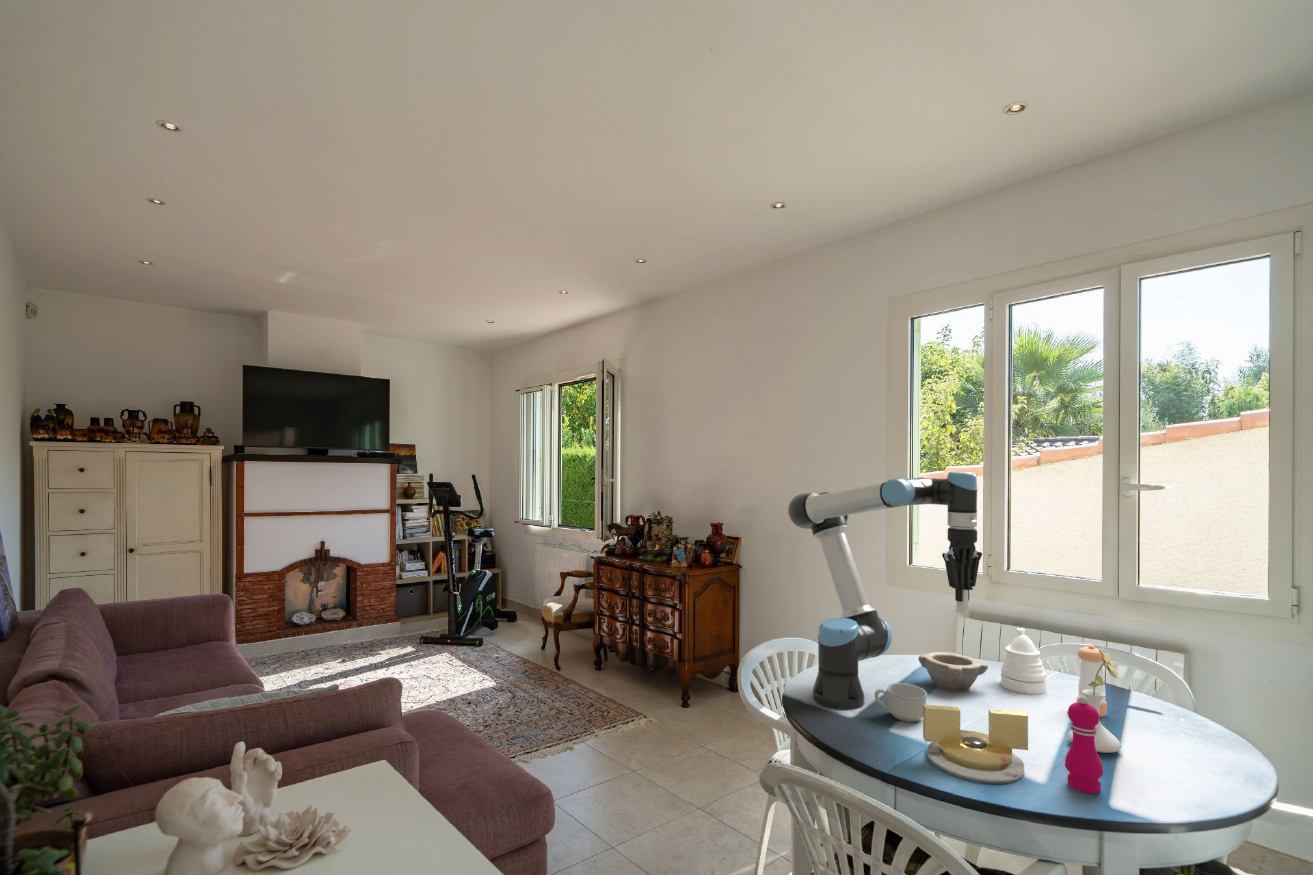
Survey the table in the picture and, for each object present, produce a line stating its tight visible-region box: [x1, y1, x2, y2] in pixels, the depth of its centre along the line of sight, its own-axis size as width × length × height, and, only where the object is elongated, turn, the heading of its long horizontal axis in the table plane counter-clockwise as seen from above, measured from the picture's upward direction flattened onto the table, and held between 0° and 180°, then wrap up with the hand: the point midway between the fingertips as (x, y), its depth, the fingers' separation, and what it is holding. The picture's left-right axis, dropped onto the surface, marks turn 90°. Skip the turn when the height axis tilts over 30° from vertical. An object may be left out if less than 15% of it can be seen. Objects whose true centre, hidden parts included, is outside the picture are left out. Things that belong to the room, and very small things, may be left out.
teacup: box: [874, 682, 928, 723], centre depth 190 cm, size 14×11×8 cm
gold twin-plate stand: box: [922, 704, 1029, 770], centre depth 162 cm, size 18×17×10 cm
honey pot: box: [1000, 627, 1047, 695], centre depth 217 cm, size 13×13×18 cm
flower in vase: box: [1067, 647, 1122, 754], centre depth 172 cm, size 13×11×25 cm
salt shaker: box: [1076, 644, 1108, 717], centre depth 196 cm, size 7×7×19 cm
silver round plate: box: [927, 742, 1025, 785], centre depth 162 cm, size 21×21×2 cm
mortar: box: [917, 651, 989, 692], centre depth 216 cm, size 17×17×9 cm
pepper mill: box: [1064, 696, 1104, 794], centre depth 151 cm, size 7×7×20 cm
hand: (962, 612), depth 186 cm, fingers closed
